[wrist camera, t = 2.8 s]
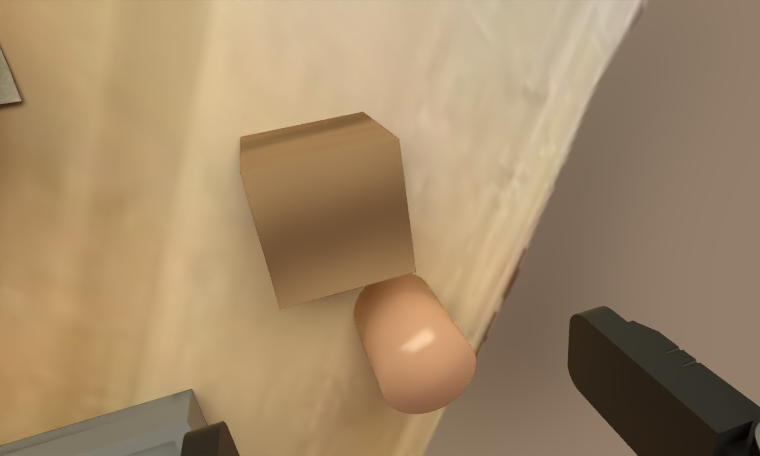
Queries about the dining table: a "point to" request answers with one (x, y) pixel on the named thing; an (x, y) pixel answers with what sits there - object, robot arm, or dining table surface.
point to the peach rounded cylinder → (413, 345)
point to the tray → (120, 432)
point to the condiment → (7, 84)
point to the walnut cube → (328, 206)
